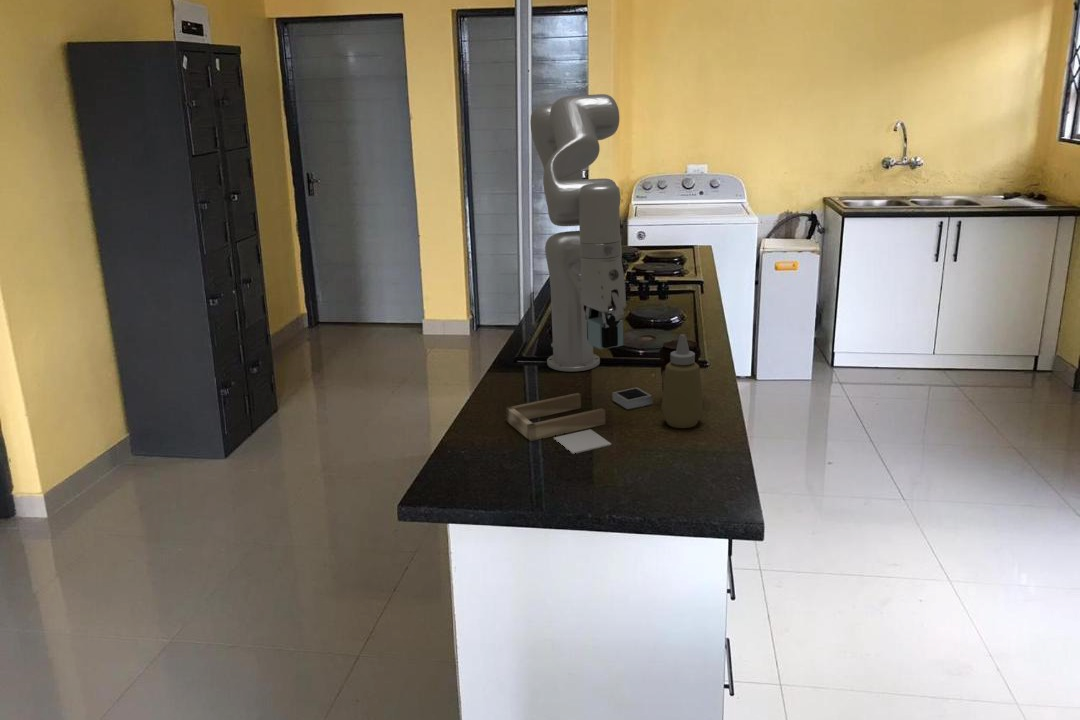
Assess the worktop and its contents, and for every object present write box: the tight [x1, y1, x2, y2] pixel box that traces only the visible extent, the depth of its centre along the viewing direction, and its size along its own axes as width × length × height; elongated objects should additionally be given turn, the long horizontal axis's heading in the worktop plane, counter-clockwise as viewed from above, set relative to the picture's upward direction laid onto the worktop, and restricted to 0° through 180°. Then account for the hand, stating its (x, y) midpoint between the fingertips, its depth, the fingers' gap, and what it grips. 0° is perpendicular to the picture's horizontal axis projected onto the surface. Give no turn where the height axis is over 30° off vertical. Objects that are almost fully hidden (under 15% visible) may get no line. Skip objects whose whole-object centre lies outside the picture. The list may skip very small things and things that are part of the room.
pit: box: [612, 386, 653, 411], centre depth 180 cm, size 6×6×2 cm
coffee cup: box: [658, 339, 702, 392], centre depth 177 cm, size 9×8×13 cm
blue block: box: [587, 314, 624, 350], centre depth 168 cm, size 5×5×5 cm
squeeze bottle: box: [661, 333, 704, 429], centre depth 166 cm, size 8×8×18 cm
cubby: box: [505, 392, 606, 442], centre depth 171 cm, size 11×16×3 cm
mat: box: [553, 428, 612, 455], centre depth 162 cm, size 8×8×1 cm
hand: (602, 342), depth 168 cm, fingers closed on blue block, 5 cm apart
